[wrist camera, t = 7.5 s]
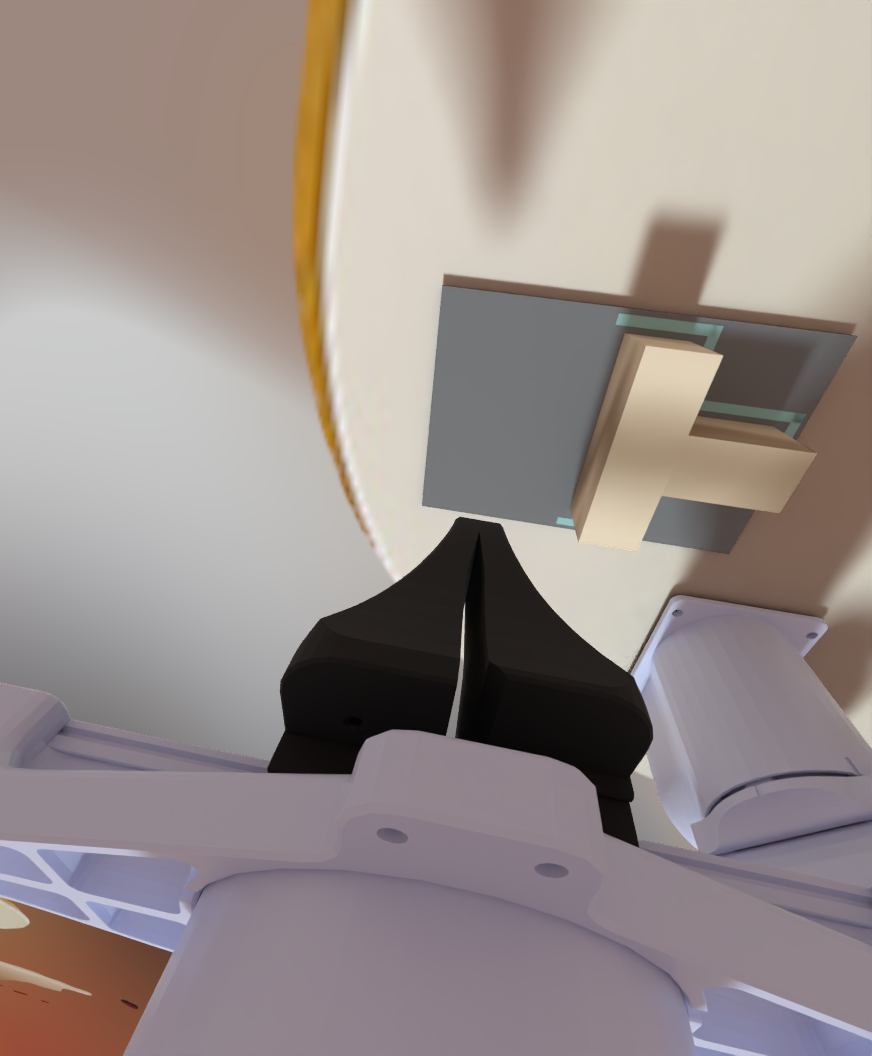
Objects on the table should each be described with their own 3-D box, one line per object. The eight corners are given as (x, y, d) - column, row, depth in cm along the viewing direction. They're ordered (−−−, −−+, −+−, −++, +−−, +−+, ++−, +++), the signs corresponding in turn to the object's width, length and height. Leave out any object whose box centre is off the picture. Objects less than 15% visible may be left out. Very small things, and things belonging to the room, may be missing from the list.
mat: (726, 550, 21) (728, 554, 21) (423, 503, 22) (421, 505, 22) (851, 335, 16) (858, 336, 16) (443, 285, 17) (442, 285, 17)
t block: (715, 531, 20) (744, 568, 18) (569, 508, 21) (578, 542, 18) (811, 356, 16) (867, 373, 14) (624, 333, 17) (645, 345, 14)
